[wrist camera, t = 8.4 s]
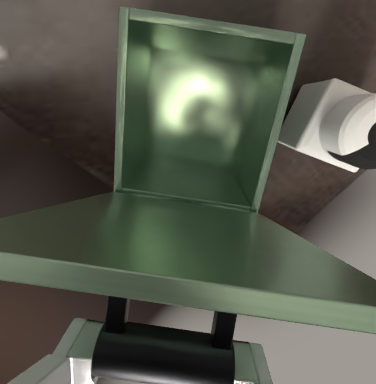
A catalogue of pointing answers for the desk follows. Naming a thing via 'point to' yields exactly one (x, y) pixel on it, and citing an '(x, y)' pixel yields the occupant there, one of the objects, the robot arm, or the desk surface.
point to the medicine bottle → (333, 124)
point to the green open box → (199, 107)
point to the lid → (181, 278)
